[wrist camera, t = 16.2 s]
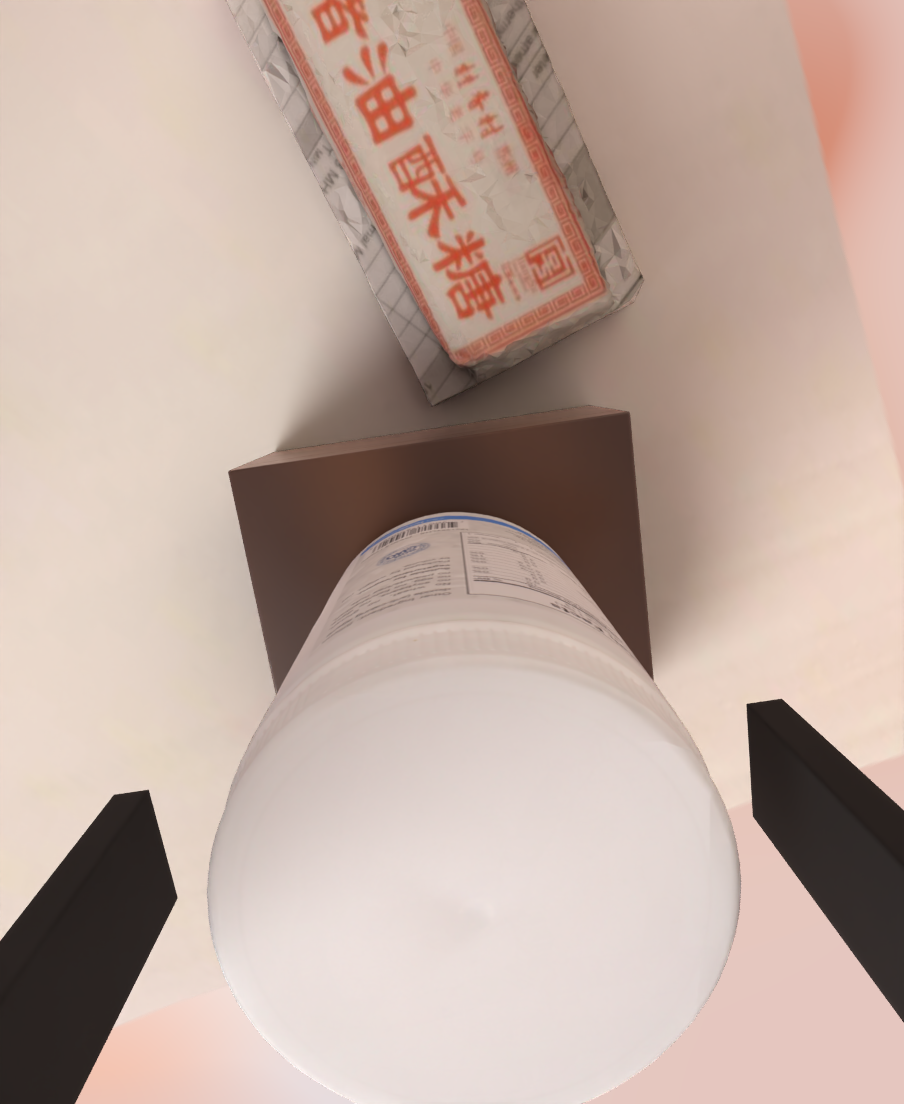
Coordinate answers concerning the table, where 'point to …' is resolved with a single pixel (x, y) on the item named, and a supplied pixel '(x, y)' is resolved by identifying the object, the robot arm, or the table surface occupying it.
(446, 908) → the supplement tub
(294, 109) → the packaged product
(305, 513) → the block
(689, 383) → the table surface
